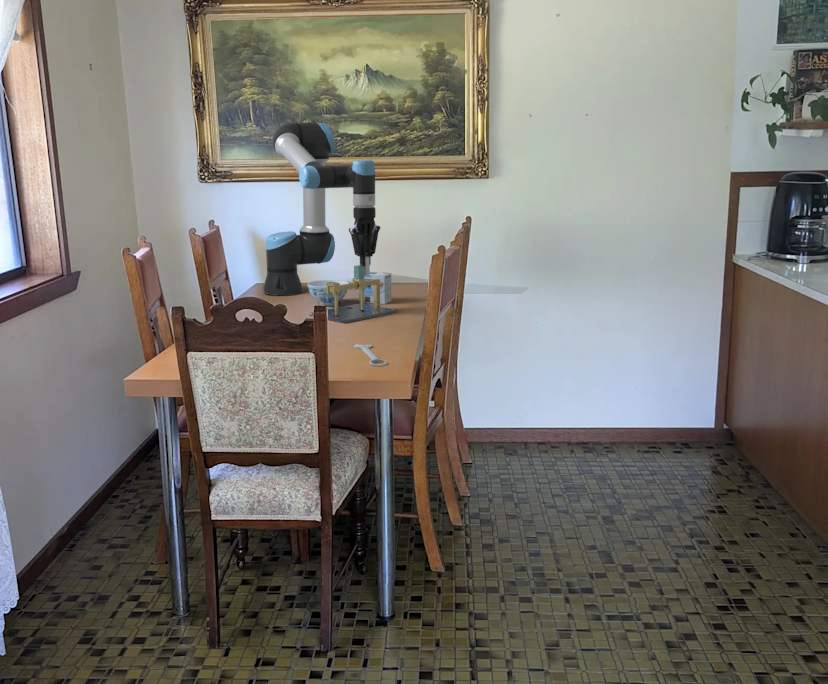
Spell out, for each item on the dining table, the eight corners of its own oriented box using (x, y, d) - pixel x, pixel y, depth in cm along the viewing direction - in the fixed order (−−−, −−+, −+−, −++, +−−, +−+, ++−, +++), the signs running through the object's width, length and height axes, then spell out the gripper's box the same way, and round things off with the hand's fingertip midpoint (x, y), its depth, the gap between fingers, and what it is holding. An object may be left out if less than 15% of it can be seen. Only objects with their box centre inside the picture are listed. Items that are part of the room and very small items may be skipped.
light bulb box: (358, 302, 316) (358, 273, 314) (365, 299, 322) (365, 271, 320) (385, 304, 313) (385, 275, 310) (392, 301, 319) (392, 272, 316)
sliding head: (353, 309, 298) (352, 265, 294) (358, 308, 299) (357, 264, 296) (360, 310, 295) (360, 266, 291) (366, 309, 297) (365, 266, 293)
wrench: (370, 347, 253) (352, 348, 252) (370, 342, 253) (352, 343, 252) (389, 367, 230) (370, 368, 229) (389, 361, 230) (370, 362, 228)
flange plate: (309, 315, 293) (309, 312, 293) (361, 305, 310) (361, 302, 310) (344, 323, 281) (344, 320, 281) (396, 312, 298) (396, 309, 298)
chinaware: (319, 299, 323) (319, 279, 321) (356, 301, 317) (355, 281, 315) (300, 306, 309) (300, 285, 307) (338, 309, 304) (337, 287, 302)
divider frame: (327, 314, 289) (326, 282, 287) (374, 305, 305) (374, 274, 302) (334, 316, 287) (334, 283, 284) (382, 307, 302) (382, 276, 300)
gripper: (357, 208, 284) (358, 278, 289) (385, 206, 293) (386, 274, 299) (342, 207, 289) (344, 276, 294) (370, 204, 298) (371, 272, 304)
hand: (365, 275), depth 296 cm, fingers closed
